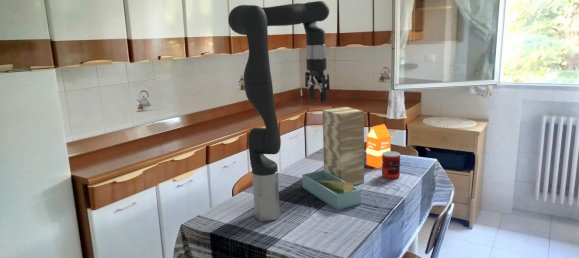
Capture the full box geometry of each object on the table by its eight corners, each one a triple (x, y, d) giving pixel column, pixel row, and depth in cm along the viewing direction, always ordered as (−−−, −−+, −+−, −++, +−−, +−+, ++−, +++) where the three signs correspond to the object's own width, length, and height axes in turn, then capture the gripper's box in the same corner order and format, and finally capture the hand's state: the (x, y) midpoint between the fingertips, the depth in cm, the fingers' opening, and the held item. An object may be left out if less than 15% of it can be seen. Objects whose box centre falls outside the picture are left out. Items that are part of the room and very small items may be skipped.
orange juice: (390, 164, 205) (390, 125, 200) (377, 168, 200) (377, 128, 196) (378, 160, 211) (378, 122, 207) (366, 164, 207) (366, 125, 202)
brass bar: (352, 190, 158) (351, 183, 158) (344, 193, 156) (343, 185, 156) (324, 186, 178) (323, 179, 177) (316, 188, 176) (315, 181, 176)
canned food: (387, 172, 194) (388, 150, 191) (403, 176, 188) (403, 153, 186) (378, 177, 189) (378, 153, 186) (394, 180, 183) (394, 157, 181)
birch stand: (364, 182, 182) (364, 111, 175) (341, 188, 177) (340, 114, 170) (346, 173, 195) (345, 106, 187) (324, 178, 190) (322, 109, 182)
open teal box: (360, 204, 160) (360, 189, 159) (337, 210, 155) (337, 195, 154) (323, 182, 184) (323, 170, 183) (302, 187, 180) (302, 174, 178)
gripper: (298, 57, 159) (300, 99, 163) (317, 58, 147) (318, 103, 150) (315, 56, 162) (316, 97, 166) (335, 57, 150) (335, 101, 154)
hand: (317, 100), depth 158 cm, fingers open, 8 cm apart
